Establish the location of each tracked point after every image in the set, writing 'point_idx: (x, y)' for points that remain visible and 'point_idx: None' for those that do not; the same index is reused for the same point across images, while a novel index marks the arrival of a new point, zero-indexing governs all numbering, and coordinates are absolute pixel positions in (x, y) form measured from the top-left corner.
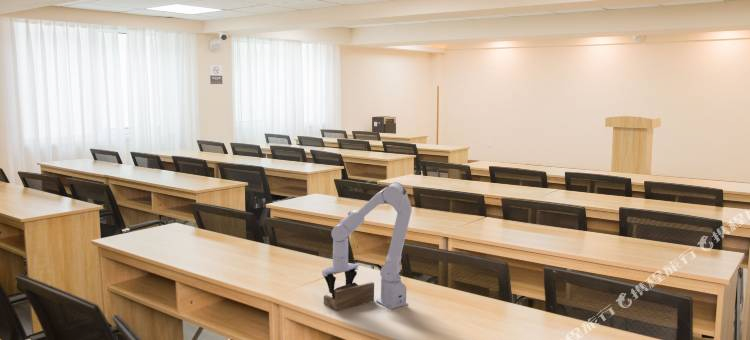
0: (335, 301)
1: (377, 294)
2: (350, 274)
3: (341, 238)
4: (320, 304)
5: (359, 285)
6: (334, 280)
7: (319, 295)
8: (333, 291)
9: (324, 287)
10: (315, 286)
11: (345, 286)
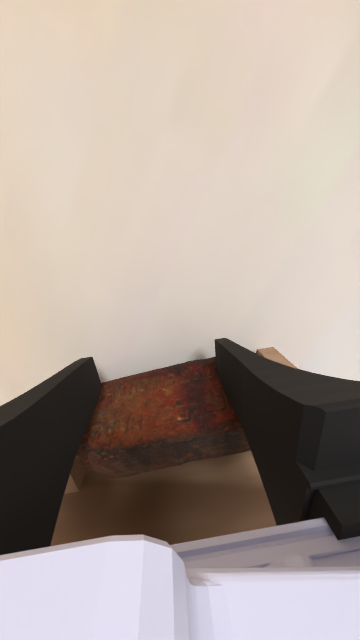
0: (62, 500)
1: (334, 376)
2: (279, 504)
3: None
4: (28, 383)
5: None
6: (43, 531)
7: (53, 258)
8: None
9: (139, 99)
10: (69, 8)
11: (170, 449)
